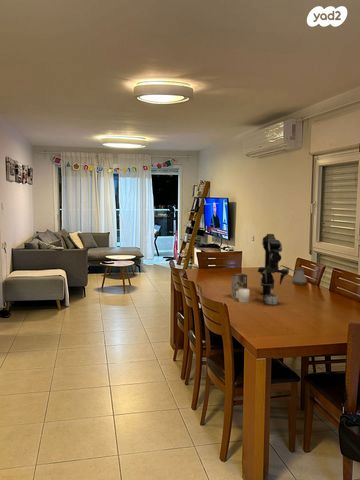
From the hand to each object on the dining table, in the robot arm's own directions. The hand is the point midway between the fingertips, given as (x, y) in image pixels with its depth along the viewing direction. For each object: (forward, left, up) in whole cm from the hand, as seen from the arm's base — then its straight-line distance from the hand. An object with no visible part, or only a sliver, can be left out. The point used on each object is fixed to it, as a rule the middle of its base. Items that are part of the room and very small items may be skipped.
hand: (273, 284), depth 265 cm
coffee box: (-6, -24, -13) cm, 28 cm away
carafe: (0, -1, -13) cm, 13 cm away
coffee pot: (-72, -1, -13) cm, 73 cm away
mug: (+2, -18, -13) cm, 23 cm away
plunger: (0, 0, -9) cm, 9 cm away
